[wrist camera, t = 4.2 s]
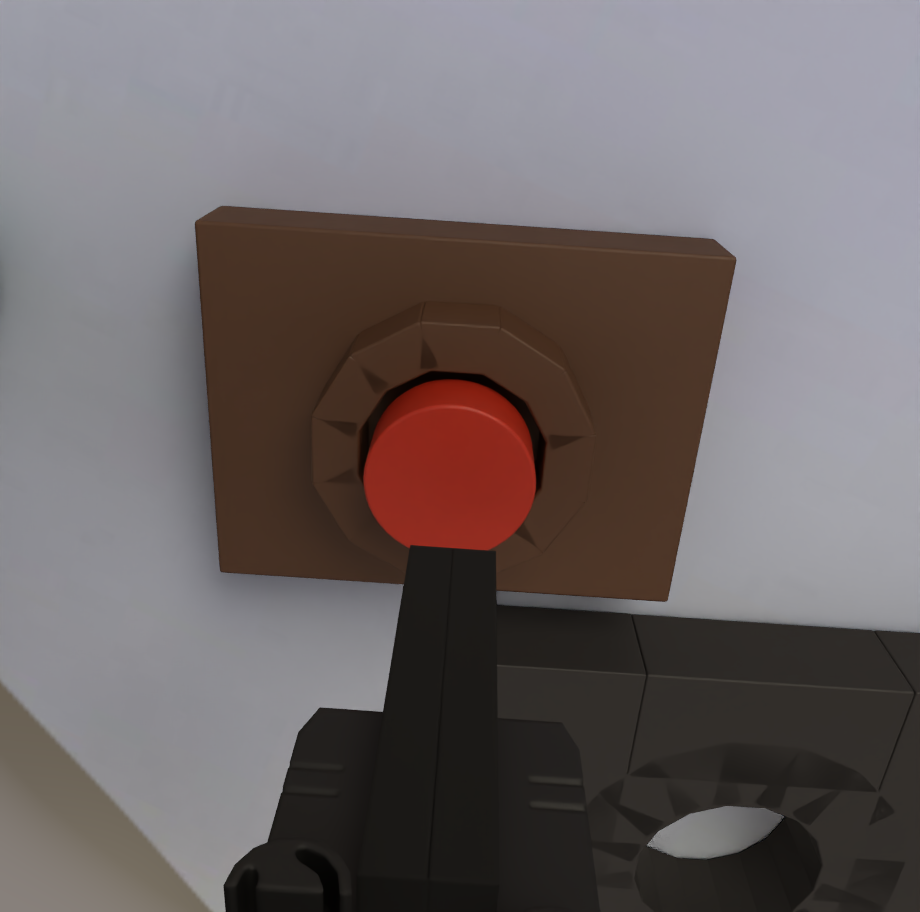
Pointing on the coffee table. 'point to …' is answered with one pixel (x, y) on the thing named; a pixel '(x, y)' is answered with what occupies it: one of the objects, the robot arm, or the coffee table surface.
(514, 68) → the coffee table surface
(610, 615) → the holder
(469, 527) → the button
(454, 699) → the robot arm
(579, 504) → the brown button base
